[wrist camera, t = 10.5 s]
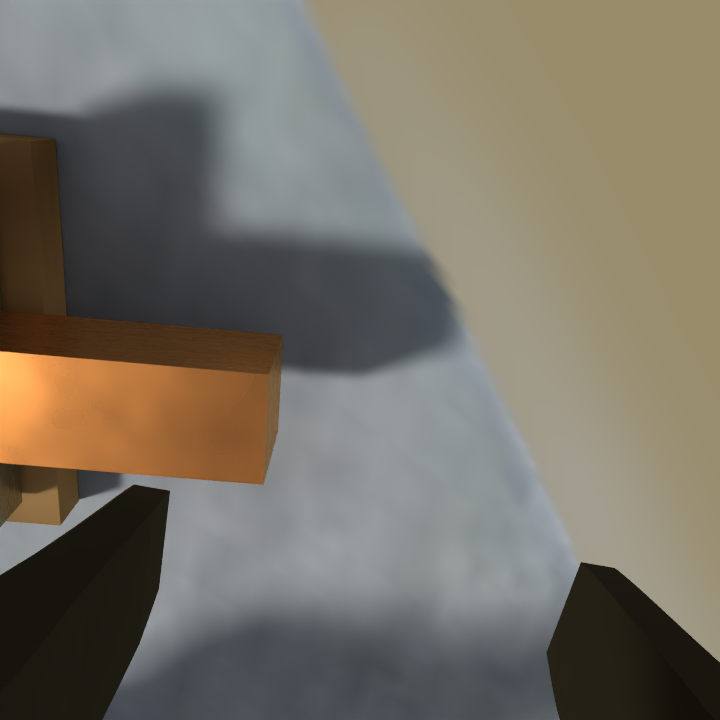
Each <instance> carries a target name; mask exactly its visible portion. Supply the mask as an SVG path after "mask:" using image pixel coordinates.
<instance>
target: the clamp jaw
mask: <svg viewBox="0 0 720 720" xmlns="http://www.w3.org/2000/svg"><path fill="white" fill-rule="evenodd" d="M282 346H283V335H277V334H266V333H254V332H243V331H232V330H221V329H209V328H198V327H187V326H175V325H164V324H153V323H141V322H130V321H119V320H107V319H96V318H85V317H74V316H62V315H51V314H40V313H28V312H17V311H6V310H3V301H2V291H1V281H0V527H1V526H2V525H3V523H4V522H5V521H6V520H7V519H8V518H9V517H10V515H11V514H12V513H13V512H14V511H15V510H16V509H17V507H18V506H19V505H20V504H21V503H22V502H23V500H22V490H21V480H20V470H19V465H31V466H43V467H55V468H68V469H80V470H92V471H104V472H116V473H128V474H140V475H153V476H165V477H177V478H189V479H201V480H213V481H226V482H238V483H250V484H262V485H264V481H265V477H266V473H267V470H268V466H269V462H270V459H271V455H272V451H273V448H274V444H275V440H276V436H277V433H278V420H279V402H280V383H281V364H282Z"/></svg>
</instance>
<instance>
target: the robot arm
mask: <svg viewBox="0 0 720 720" xmlns="http://www.w3.org/2000/svg"><path fill="white" fill-rule="evenodd" d="M169 495H170V491H168V490H162V489H156V488H150V487H144V486H139V485H133V486H131V487H129V488H128V489H126V490H125V491H123V492H122V493H121V494H119V495H118V496H116V497H115V498H114V499H112V500H111V501H110V502H108V503H107V504H106V505H104V506H103V507H102V508H100V509H99V510H97V511H96V512H95V513H93V514H92V515H91V516H89V517H88V518H86V519H85V520H84V521H82V522H81V523H79V524H78V525H77V526H75V527H74V528H72V529H71V530H69V531H68V532H66V533H65V534H64V535H62V536H61V537H59V538H58V539H56V540H55V541H53V542H52V543H50V544H49V545H47V546H46V547H44V548H43V549H41V550H40V551H38V552H37V553H35V554H34V555H32V556H31V557H29V558H27V559H26V560H24V561H23V562H21V563H19V564H18V565H16V566H14V567H13V568H11V569H9V570H8V571H6V572H5V573H3V574H1V575H0V720H102V719H103V717H104V715H105V713H106V711H107V709H108V707H109V705H110V703H111V701H112V699H113V697H114V695H115V693H116V691H117V689H118V687H119V685H120V683H121V681H122V678H123V676H124V674H125V672H126V670H127V668H128V666H129V664H130V662H131V660H132V658H133V656H134V654H135V652H136V650H137V648H138V645H139V643H140V640H141V638H142V635H143V632H144V629H145V627H146V624H147V621H148V618H149V616H150V613H151V610H152V607H153V604H154V601H155V598H156V595H157V593H158V590H159V583H160V574H161V565H162V557H163V548H164V539H165V530H166V521H167V512H168V504H169ZM547 657H548V663H549V669H550V675H551V681H552V687H553V692H554V697H555V702H556V707H557V711H558V715H559V718H560V720H720V662H719V661H717V660H716V659H715V658H714V657H713V656H712V655H711V654H710V653H709V652H707V651H706V650H705V649H704V648H703V647H702V646H701V645H700V644H699V643H698V642H696V641H695V640H694V639H693V638H692V637H691V636H690V635H689V634H688V633H687V632H686V631H684V630H683V629H682V628H681V627H680V626H679V625H678V624H677V623H676V622H675V621H674V620H673V619H672V618H670V617H669V616H668V615H667V614H666V613H665V612H664V611H663V610H662V609H661V608H660V607H659V606H658V605H657V604H655V603H654V602H653V601H652V600H651V599H650V598H649V597H648V596H647V595H646V594H644V593H643V592H642V591H641V590H640V589H639V588H638V587H637V586H636V585H634V584H633V583H632V582H631V581H630V580H629V579H627V578H626V577H625V576H624V575H623V574H621V573H620V572H619V571H618V570H616V569H615V568H611V567H605V566H599V565H594V564H588V563H582V562H581V564H580V566H579V569H578V572H577V574H576V577H575V580H574V582H573V585H572V587H571V590H570V593H569V595H568V598H567V600H566V603H565V606H564V608H563V611H562V614H561V616H560V619H559V621H558V624H557V627H556V629H555V632H554V634H553V637H552V640H551V642H550V645H549V647H548V650H547Z"/></svg>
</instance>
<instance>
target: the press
mask: <svg viewBox="0 0 720 720" xmlns="http://www.w3.org/2000/svg"><path fill="white" fill-rule="evenodd" d="M0 281H1V291H2V301H3V310H6V311H17V312H28V313H40V314H51V315H62V316H67V310H66V295H65V279H64V264H63V249H62V234H61V218H60V203H59V188H58V173H57V158H56V142H55V139H51V138H41V137H30V136H20V135H9V134H0ZM19 470H20V480H21V490H22V500H23V502H22V503H21V504H20V505H19V506H18V507H17V509H16V510H15V511H14V512H13V513H12V514H11V515H10V517H9V518H8V519H7V520H6V521H12V522H25V523H37V524H50V525H61V524H62V523H63V521H64V520H65V519H66V517H67V516H68V515H69V513H70V512H71V510H72V509H73V508H74V506H75V505H76V504H77V502H78V501H79V492H78V477H77V469H68V468H55V467H43V466H31V465H19Z"/></svg>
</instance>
